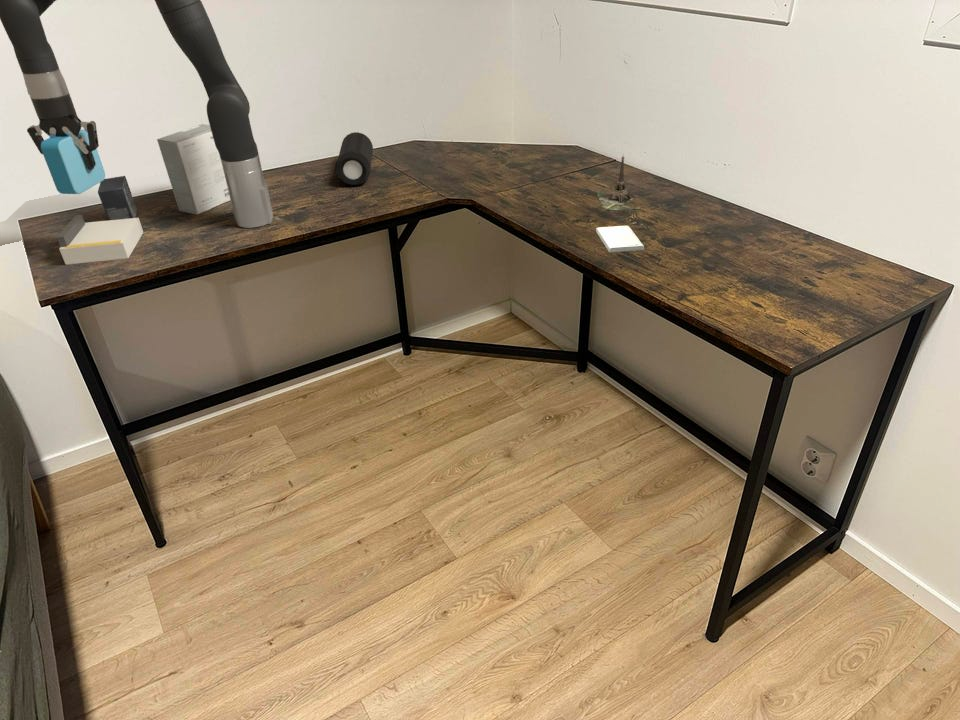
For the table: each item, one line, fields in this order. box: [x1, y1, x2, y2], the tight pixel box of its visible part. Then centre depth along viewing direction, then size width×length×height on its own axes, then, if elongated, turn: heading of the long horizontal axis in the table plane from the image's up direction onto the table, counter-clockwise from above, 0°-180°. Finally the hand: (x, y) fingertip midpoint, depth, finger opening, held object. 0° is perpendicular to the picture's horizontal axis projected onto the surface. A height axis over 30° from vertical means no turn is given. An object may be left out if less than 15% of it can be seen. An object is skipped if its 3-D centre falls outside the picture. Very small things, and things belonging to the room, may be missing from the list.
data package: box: [41, 128, 106, 195], centre depth 153 cm, size 12×4×12 cm, turn 173°
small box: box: [97, 175, 139, 221], centre depth 177 cm, size 11×6×10 cm, turn 21°
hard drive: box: [595, 225, 645, 253], centre depth 160 cm, size 2×8×12 cm
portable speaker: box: [335, 131, 374, 186], centre depth 204 cm, size 26×10×10 cm, turn 5°
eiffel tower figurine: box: [595, 155, 641, 211], centre depth 178 cm, size 15×10×13 cm
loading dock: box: [56, 214, 144, 265], centre depth 164 cm, size 14×16×6 cm
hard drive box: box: [156, 123, 231, 216], centre depth 183 cm, size 16×8×20 cm, turn 150°
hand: (77, 169), depth 155 cm, fingers closed on data package, 5 cm apart
